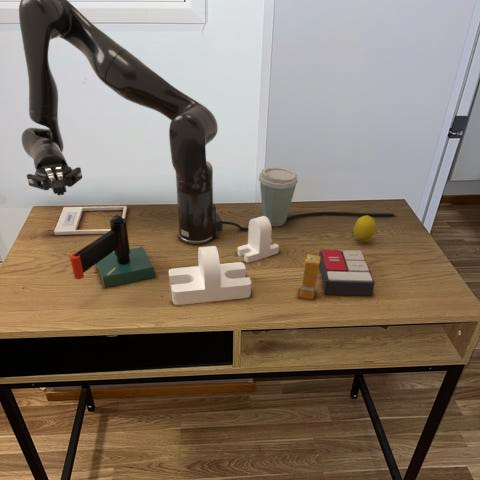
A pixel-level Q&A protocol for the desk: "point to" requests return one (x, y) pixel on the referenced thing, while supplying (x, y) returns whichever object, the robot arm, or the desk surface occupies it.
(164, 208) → the desk surface
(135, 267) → the stand
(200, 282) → the white slotted bracket
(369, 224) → the lemon
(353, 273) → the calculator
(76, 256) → the black l-shaped bar
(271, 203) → the disposable coffee cup
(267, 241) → the cable organizer
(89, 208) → the photo frame
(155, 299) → the desk surface
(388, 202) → the desk surface
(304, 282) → the supplement box
